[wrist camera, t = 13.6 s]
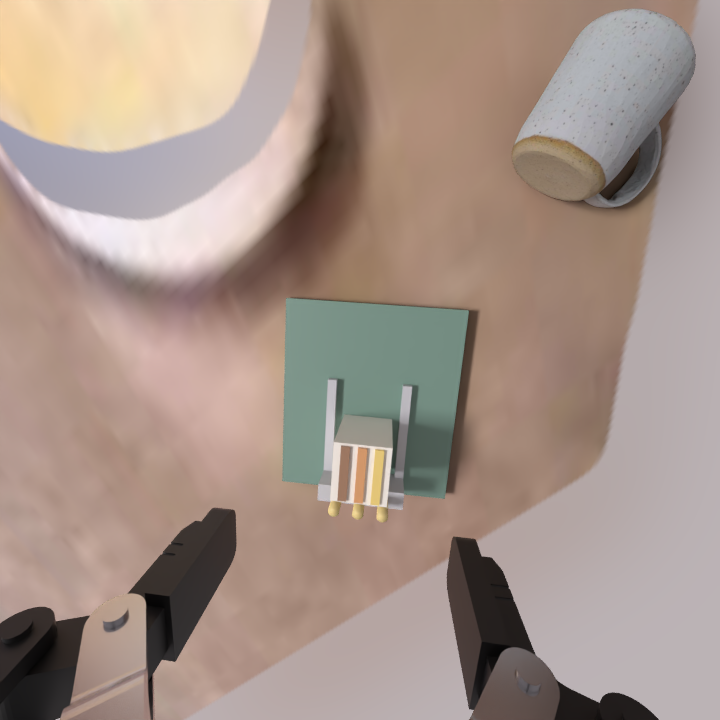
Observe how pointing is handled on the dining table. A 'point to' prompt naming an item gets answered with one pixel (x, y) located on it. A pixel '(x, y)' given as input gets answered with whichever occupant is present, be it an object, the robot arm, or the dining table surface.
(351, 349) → the header board
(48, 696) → the robot arm
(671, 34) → the ceramic mug
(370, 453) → the plug block
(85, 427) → the dining table surface
